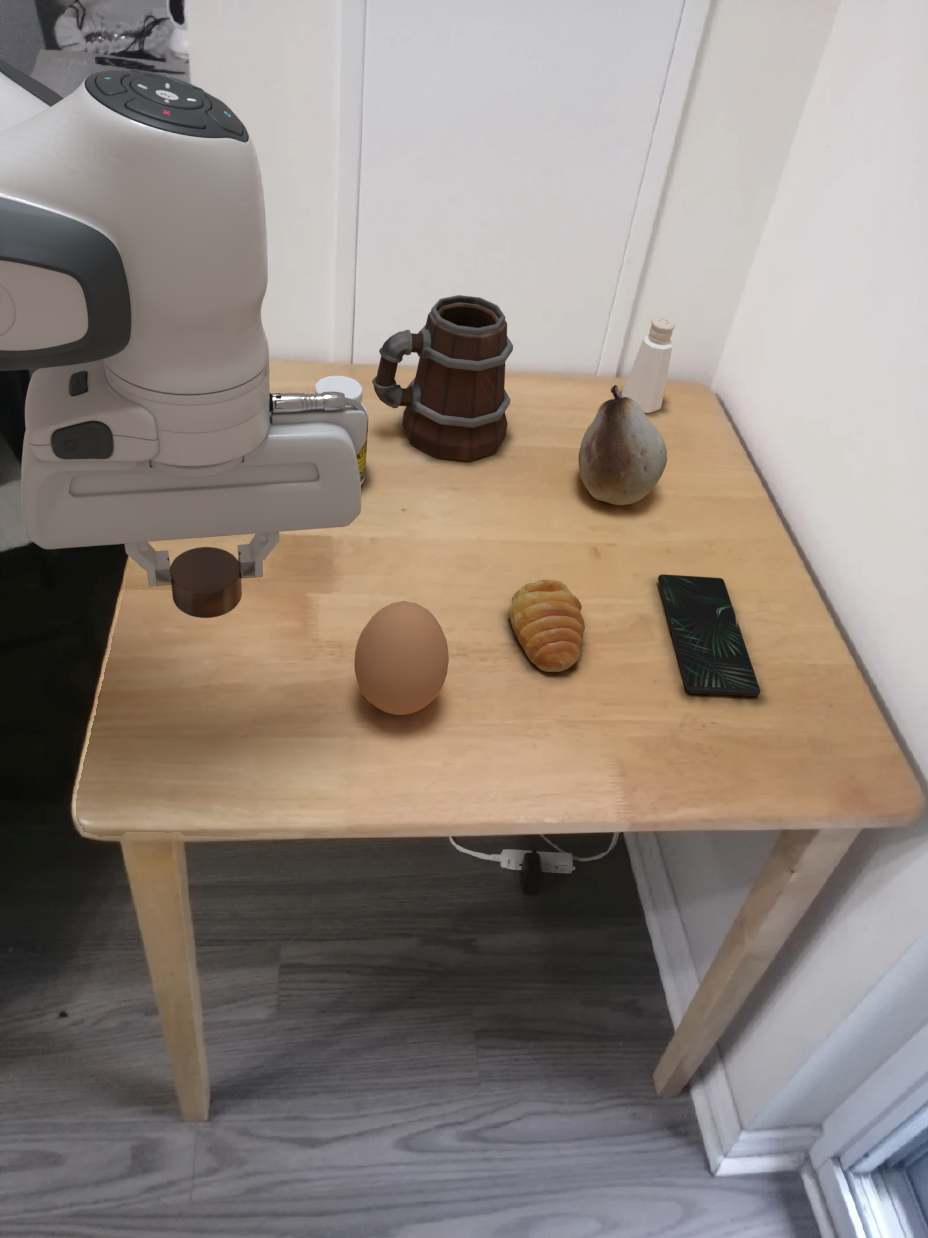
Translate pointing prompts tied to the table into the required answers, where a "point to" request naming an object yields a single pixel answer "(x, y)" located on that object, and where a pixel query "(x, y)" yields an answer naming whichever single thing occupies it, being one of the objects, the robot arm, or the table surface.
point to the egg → (401, 658)
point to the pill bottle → (350, 391)
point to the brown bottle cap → (206, 582)
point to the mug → (452, 379)
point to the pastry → (548, 624)
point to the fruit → (621, 453)
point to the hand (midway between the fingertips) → (205, 576)
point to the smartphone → (707, 636)
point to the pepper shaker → (651, 367)
